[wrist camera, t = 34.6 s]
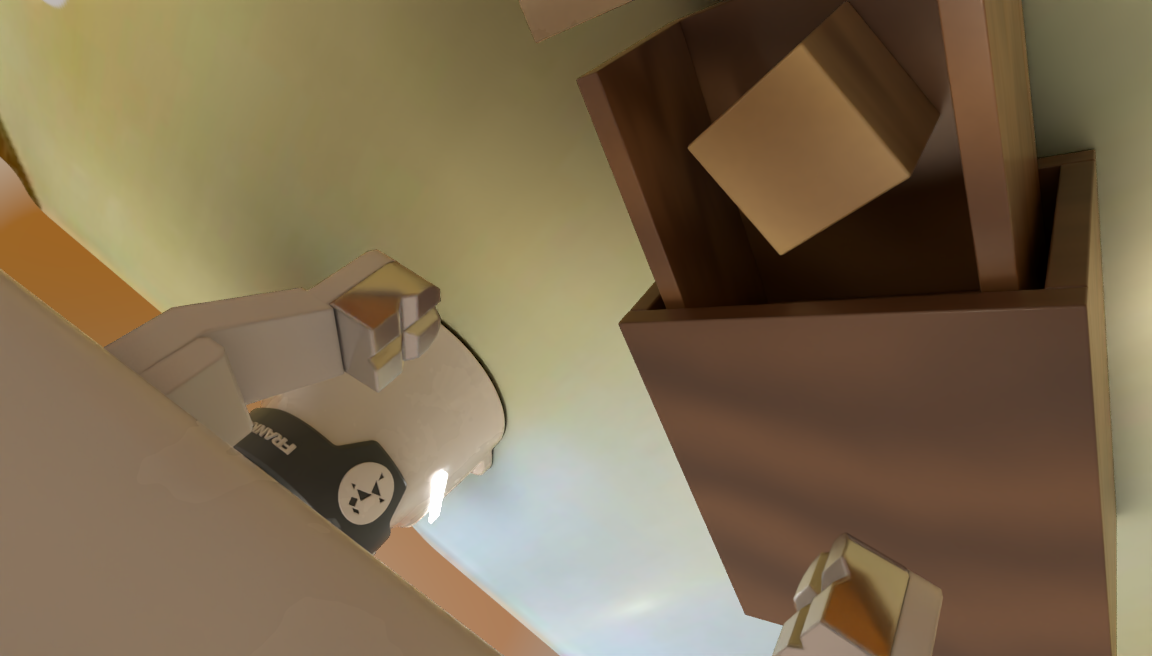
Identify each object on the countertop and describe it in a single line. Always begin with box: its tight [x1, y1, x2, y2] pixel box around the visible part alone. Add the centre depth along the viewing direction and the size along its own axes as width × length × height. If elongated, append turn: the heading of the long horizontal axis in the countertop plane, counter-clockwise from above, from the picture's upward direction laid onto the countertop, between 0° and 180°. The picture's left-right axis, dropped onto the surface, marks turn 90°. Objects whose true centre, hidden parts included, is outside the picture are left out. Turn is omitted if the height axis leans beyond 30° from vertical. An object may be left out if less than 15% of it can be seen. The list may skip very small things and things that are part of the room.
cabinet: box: [619, 150, 1117, 656], centre depth 24 cm, size 16×13×9 cm
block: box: [688, 1, 940, 255], centre depth 19 cm, size 4×4×4 cm
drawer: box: [519, 0, 1047, 309], centre depth 18 cm, size 20×11×7 cm, turn 27°
